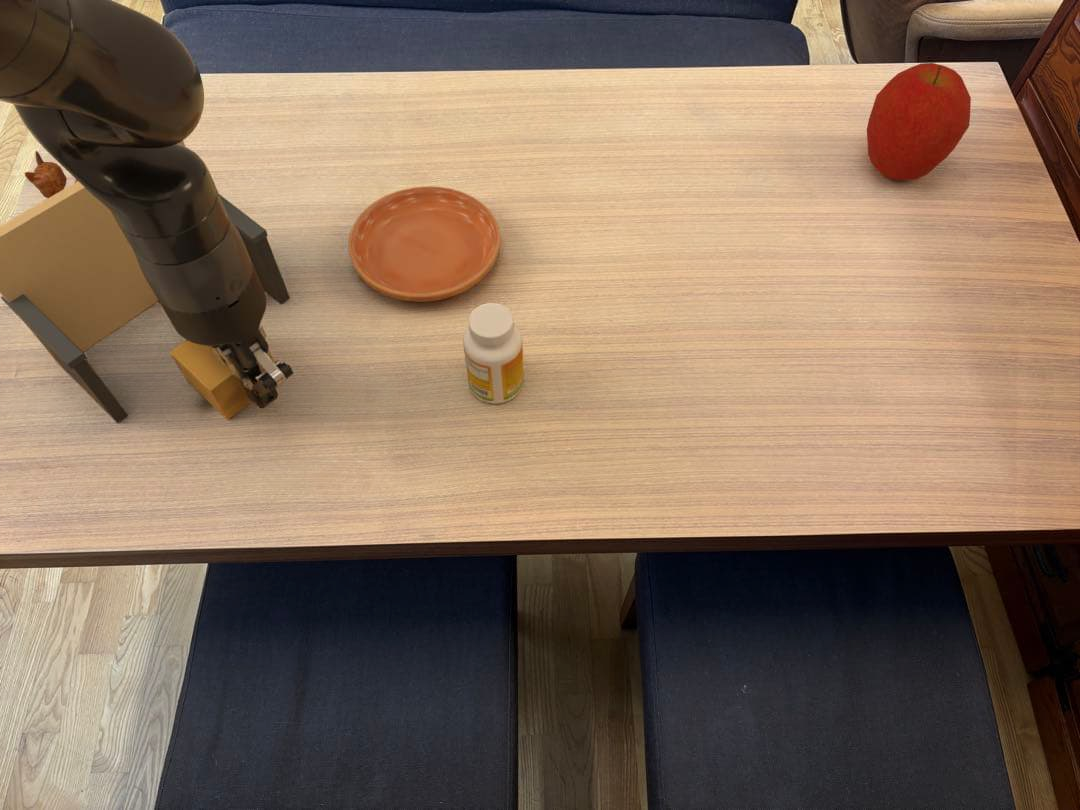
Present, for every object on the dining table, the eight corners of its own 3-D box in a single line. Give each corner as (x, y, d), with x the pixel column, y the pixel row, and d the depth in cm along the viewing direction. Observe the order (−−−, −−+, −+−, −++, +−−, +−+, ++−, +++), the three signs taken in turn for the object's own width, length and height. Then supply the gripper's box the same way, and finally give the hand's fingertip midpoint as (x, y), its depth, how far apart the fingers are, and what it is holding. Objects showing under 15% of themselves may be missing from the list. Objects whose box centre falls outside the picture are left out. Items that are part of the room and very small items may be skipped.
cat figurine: (115, 159, 101) (60, 56, 89) (170, 159, 101) (122, 56, 89) (68, 273, 91) (-2, 174, 79) (129, 273, 91) (68, 174, 79)
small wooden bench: (291, 297, 89) (247, 179, 76) (115, 425, 80) (30, 318, 67) (227, 245, 93) (173, 125, 80) (53, 361, 84) (-40, 248, 71)
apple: (935, 209, 95) (989, 105, 84) (845, 188, 97) (886, 83, 86) (944, 151, 101) (996, 46, 89) (859, 132, 103) (899, 26, 91)
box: (227, 420, 81) (210, 390, 76) (188, 382, 83) (169, 352, 79) (282, 379, 83) (268, 348, 79) (242, 343, 86) (226, 311, 81)
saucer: (520, 222, 95) (519, 202, 92) (471, 329, 86) (468, 310, 84) (388, 192, 97) (384, 172, 95) (328, 293, 89) (322, 274, 87)
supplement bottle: (520, 357, 84) (518, 293, 76) (526, 402, 82) (524, 340, 73) (466, 362, 84) (458, 299, 76) (470, 408, 81) (462, 346, 73)
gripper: (111, 256, 66) (190, 384, 80) (212, 347, 61) (277, 466, 75) (192, 206, 69) (254, 338, 83) (294, 288, 64) (342, 413, 78)
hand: (265, 398), depth 79 cm, fingers closed
